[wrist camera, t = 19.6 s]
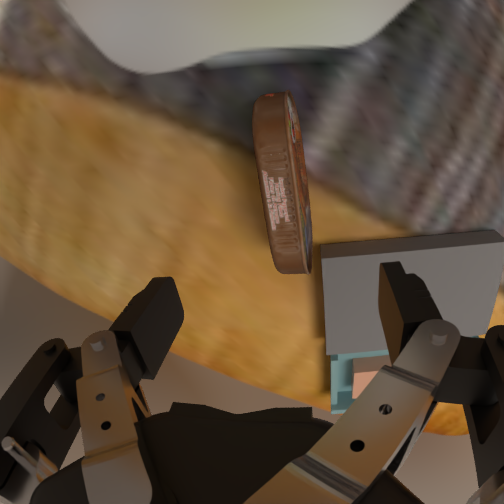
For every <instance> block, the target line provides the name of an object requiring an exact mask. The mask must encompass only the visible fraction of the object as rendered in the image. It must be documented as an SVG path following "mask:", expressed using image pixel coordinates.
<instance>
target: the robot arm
mask: <svg viewBox="0 0 504 504" xmlns="http://www.w3.org/2000/svg"><path fill="white" fill-rule="evenodd" d="M378 309H379V316H380V319H381V323H382V327H383V331H384V335H385V339H386V343H387V348H388V352H389V356H390V361H391V365H392V366H391V367H390V366H388V365H384V366H383V367H382V368H381V369H380V370H379V371H378V372H377V374H376V375H375V376H374V378H373V379H372V380H371V381H370V383H369V384H368V385H367V386H366V388H365V389H364V390H363V391H362V392H361V394H360V395H359V396H358V397H357V398H356V400H355V401H354V402H353V403H352V404H351V406H350V407H349V408H348V409H347V410H346V411H345V413H344V414H343V415H342V416H341V417H340V418H339V419H338V420H337V422H336V423H335V424H333V423H330V422H328V421H325V420H321V419H318V418H313V417H312V407H303V408H302V407H300V408H272V409H266V410H261V411H255V412H250V413H243V414H233V413H230V412H226V411H223V410H219V409H216V408H213V407H209V406H206V405H199V404H188V403H177V402H173V403H172V406H171V409H170V411H169V412H164V413H159V414H155V415H152V414H151V411H150V408H149V406H148V403H147V400H146V397H145V394H144V391H143V389H142V386H141V385H140V383H139V382H140V380H141V379H151V380H153V379H154V378H155V376H156V374H157V372H158V370H159V368H160V366H161V364H162V363H163V361H164V358H165V356H166V355H167V353H168V351H169V349H170V347H171V345H172V343H173V341H174V339H175V337H176V335H177V333H178V331H179V329H180V327H181V325H182V323H183V320H184V310H183V306H182V303H181V300H180V297H179V294H178V291H177V288H176V285H175V282H174V279H173V278H172V277H155V278H153V279H152V280H151V281H150V282H149V284H148V285H147V286H146V287H145V289H144V290H142V291H141V292H139V293H138V294H137V295H135V296H134V297H133V298H132V299H131V301H130V302H129V303H128V306H126V307H125V309H124V310H123V312H121V314H120V315H119V316H118V318H117V319H116V320H115V322H114V323H113V324H112V326H111V327H110V328H109V330H103V331H98V332H95V333H93V334H91V335H90V336H89V337H87V338H86V339H85V340H84V341H83V343H82V345H81V347H77V348H71V349H68V347H67V345H66V344H65V342H64V340H63V339H60V338H55V339H51V340H49V341H47V342H45V343H44V344H42V345H41V346H40V347H39V348H38V350H37V351H36V352H35V354H34V355H33V356H32V358H31V359H30V360H29V361H28V363H27V364H26V365H25V367H24V368H23V369H22V371H21V372H20V373H19V374H18V376H17V377H16V379H15V380H14V381H13V383H12V384H11V385H10V387H9V388H8V390H7V391H6V392H5V394H4V395H3V397H2V398H1V400H0V502H2V503H3V504H424V503H423V502H422V501H421V500H420V499H419V498H418V497H416V496H415V495H414V494H413V493H412V492H411V491H410V490H409V489H407V488H406V487H405V486H404V485H403V484H402V483H401V482H400V481H399V480H398V479H397V478H396V477H395V475H396V474H397V472H398V471H399V469H400V468H401V466H402V465H403V463H404V462H405V460H406V458H407V457H408V455H409V453H410V452H411V450H412V448H413V446H414V444H415V443H416V441H417V439H418V438H419V436H420V434H421V433H422V431H423V429H424V428H425V426H426V424H427V423H428V421H429V419H430V417H431V416H432V414H433V412H434V410H435V408H436V406H437V405H438V403H439V402H444V403H454V404H463V408H464V412H465V416H466V421H467V425H468V430H469V434H470V439H471V444H472V449H473V454H474V460H475V465H476V472H477V478H478V486H479V489H478V490H477V491H476V492H475V493H474V494H473V495H472V496H471V497H470V498H469V500H468V501H467V503H466V504H504V325H497V326H493V327H491V328H490V329H489V330H488V331H487V333H486V335H485V338H474V337H465V336H461V335H460V332H459V330H458V328H457V327H456V326H455V325H454V324H452V323H450V322H448V321H446V320H443V318H442V316H441V314H440V312H439V310H438V308H437V306H436V304H435V302H434V300H433V298H432V297H431V294H430V292H429V290H428V288H427V286H426V284H425V283H424V281H423V280H422V279H421V278H420V277H418V276H417V275H416V274H414V273H410V274H406V272H405V270H404V268H403V266H402V264H401V262H400V261H395V262H383V263H380V266H379V289H378ZM53 384H54V385H55V386H56V388H57V389H58V391H59V392H60V393H61V395H60V397H59V399H58V400H57V402H56V403H55V405H54V407H53V408H52V410H51V412H50V413H48V411H47V410H46V408H45V406H44V398H45V396H46V394H47V393H48V391H49V390H50V388H51V387H52V385H53ZM80 427H81V432H82V439H83V445H84V452H85V456H83V457H82V458H80V459H78V460H77V461H75V462H73V463H71V464H70V465H68V466H66V467H65V468H63V469H61V470H60V467H61V465H62V463H63V461H64V459H65V457H66V455H67V453H68V451H69V449H70V447H71V445H72V443H73V441H74V439H75V437H76V435H77V433H78V431H79V429H80Z"/></svg>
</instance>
